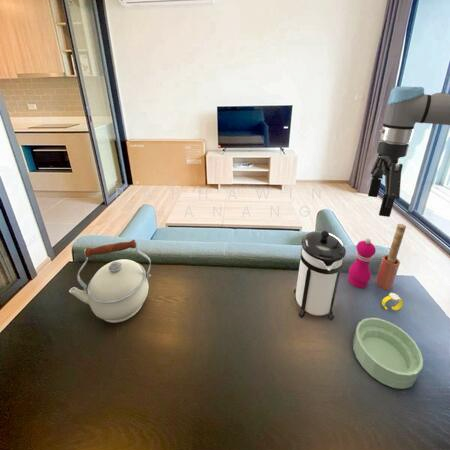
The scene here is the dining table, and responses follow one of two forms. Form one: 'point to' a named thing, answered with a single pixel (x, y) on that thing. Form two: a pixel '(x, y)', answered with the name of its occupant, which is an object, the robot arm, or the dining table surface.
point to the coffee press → (319, 273)
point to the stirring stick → (396, 243)
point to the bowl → (387, 353)
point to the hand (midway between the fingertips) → (377, 205)
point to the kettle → (115, 285)
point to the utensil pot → (387, 273)
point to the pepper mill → (362, 264)
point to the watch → (395, 298)
